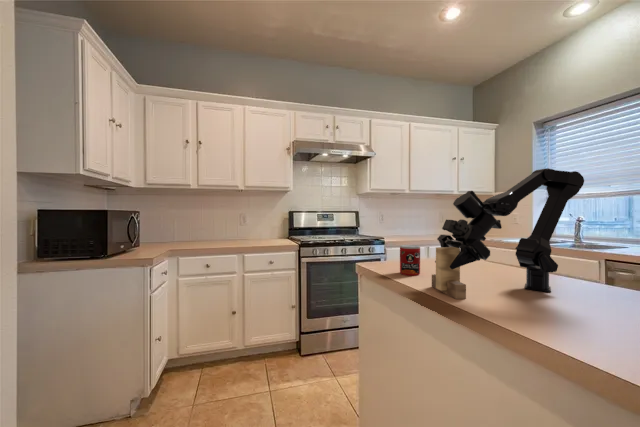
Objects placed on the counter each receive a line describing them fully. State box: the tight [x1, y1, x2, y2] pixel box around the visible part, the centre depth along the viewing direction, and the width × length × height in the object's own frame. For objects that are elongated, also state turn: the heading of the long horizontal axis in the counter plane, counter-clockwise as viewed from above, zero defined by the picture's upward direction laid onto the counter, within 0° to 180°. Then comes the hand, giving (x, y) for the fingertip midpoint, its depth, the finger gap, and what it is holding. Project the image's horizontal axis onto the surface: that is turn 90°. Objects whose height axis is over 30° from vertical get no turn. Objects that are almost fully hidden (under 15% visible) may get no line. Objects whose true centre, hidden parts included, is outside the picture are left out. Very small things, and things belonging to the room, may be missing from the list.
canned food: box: [399, 244, 421, 277], centre depth 112 cm, size 8×8×11 cm
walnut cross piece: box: [431, 273, 467, 300], centre depth 86 cm, size 13×3×4 cm, turn 7°
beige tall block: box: [435, 246, 461, 292], centre depth 86 cm, size 6×3×12 cm, turn 97°
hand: (443, 265), depth 86 cm, fingers open, 8 cm apart
